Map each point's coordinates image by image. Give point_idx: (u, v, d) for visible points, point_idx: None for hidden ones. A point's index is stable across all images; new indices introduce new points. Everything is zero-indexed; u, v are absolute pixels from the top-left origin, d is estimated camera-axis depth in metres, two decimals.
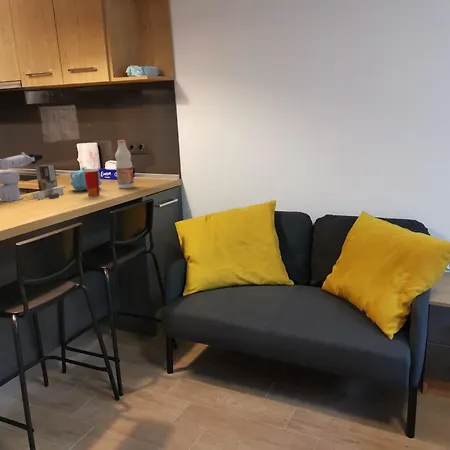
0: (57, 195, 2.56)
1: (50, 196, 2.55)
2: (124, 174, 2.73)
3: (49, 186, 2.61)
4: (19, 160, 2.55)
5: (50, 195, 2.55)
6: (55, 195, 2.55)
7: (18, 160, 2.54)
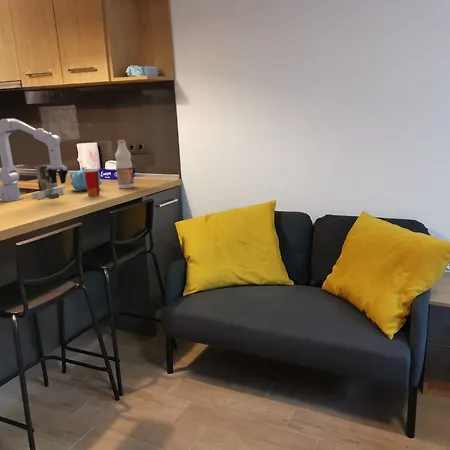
0: (57, 195, 2.56)
1: (50, 196, 2.55)
2: (125, 174, 2.73)
3: (49, 186, 2.61)
4: (59, 157, 2.47)
5: (50, 195, 2.55)
6: (55, 195, 2.55)
7: (53, 157, 2.45)
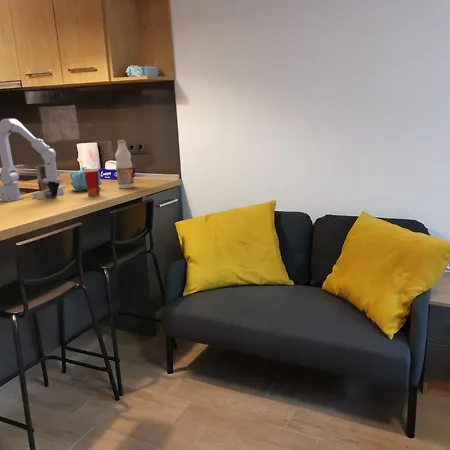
0: None
1: (48, 195, 2.56)
2: (124, 174, 2.73)
3: None
4: (55, 171, 2.51)
5: (48, 194, 2.56)
6: None
7: (50, 170, 2.50)
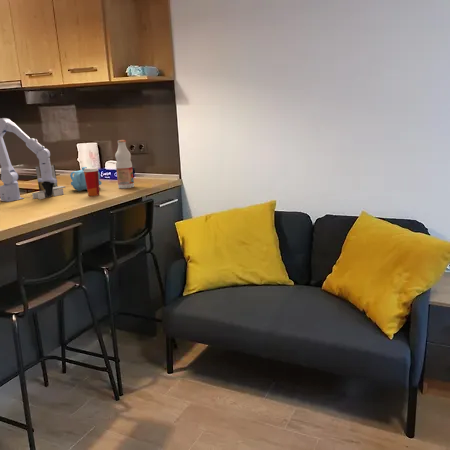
0: None
1: None
2: (125, 174, 2.73)
3: None
4: (49, 170, 2.54)
5: None
6: None
7: (45, 170, 2.52)
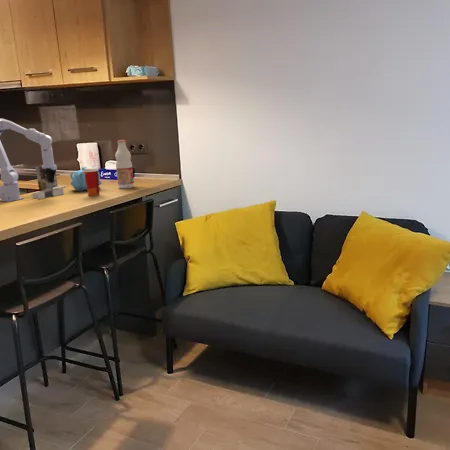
0: (49, 194, 2.60)
1: None
2: (124, 174, 2.73)
3: (49, 186, 2.61)
4: (50, 157, 2.52)
5: None
6: (47, 194, 2.59)
7: (47, 157, 2.50)
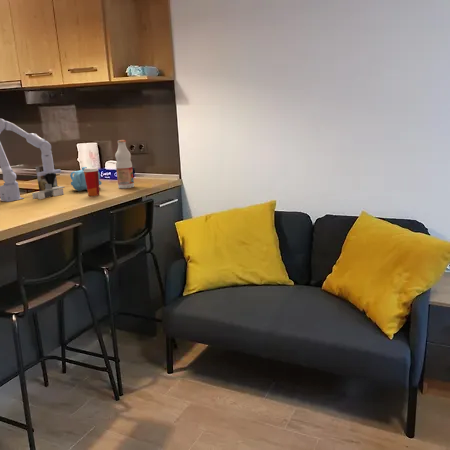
0: (49, 194, 2.60)
1: None
2: (125, 174, 2.73)
3: (48, 186, 2.60)
4: (44, 163, 2.57)
5: None
6: (47, 194, 2.59)
7: (48, 162, 2.57)
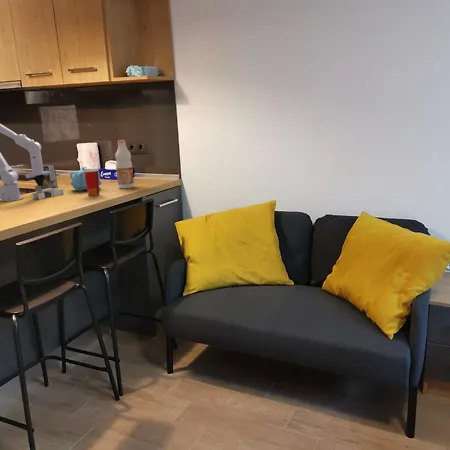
0: (49, 194, 2.60)
1: None
2: (124, 174, 2.73)
3: (38, 188, 2.55)
4: (32, 165, 2.51)
5: None
6: (47, 194, 2.59)
7: (36, 164, 2.51)
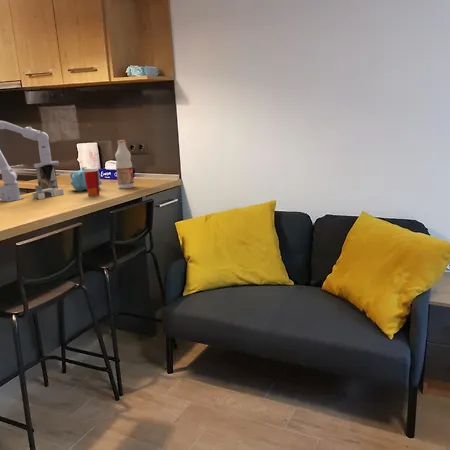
0: (49, 194, 2.60)
1: None
2: (124, 174, 2.73)
3: (38, 188, 2.55)
4: (41, 155, 2.54)
5: None
6: (47, 194, 2.59)
7: (45, 153, 2.54)
